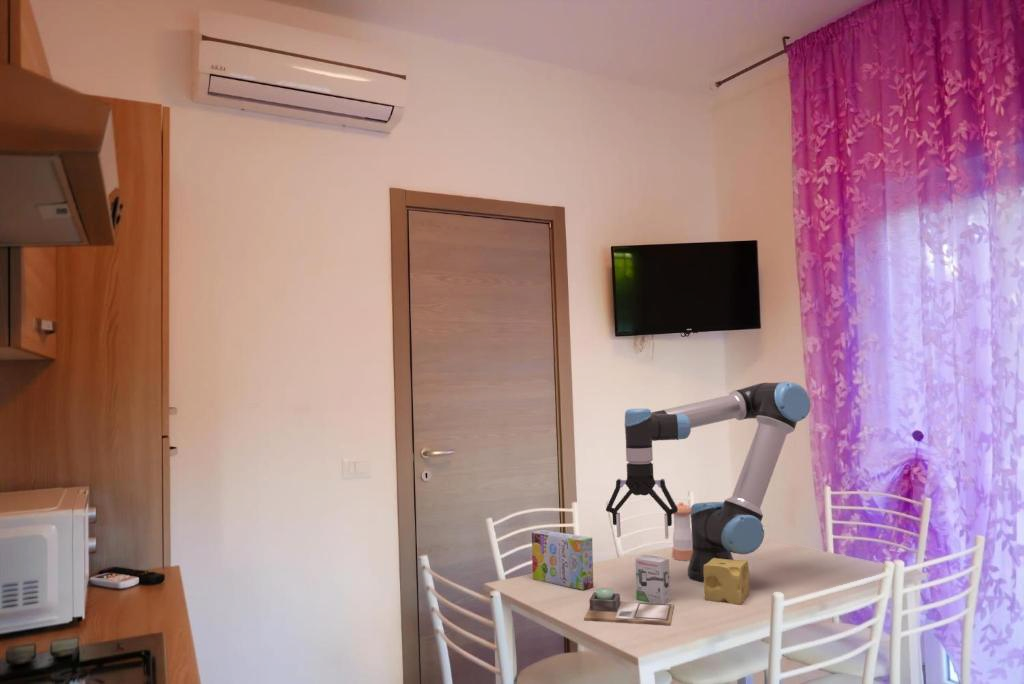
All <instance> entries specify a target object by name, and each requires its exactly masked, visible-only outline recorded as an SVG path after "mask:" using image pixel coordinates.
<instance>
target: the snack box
mask: <svg viewBox="0 0 1024 684" xmlns="http://www.w3.org/2000/svg"><path fill="white" fill-rule="evenodd" d="M531 552H532V553H531V554H532V555H531V556H532V557H531V558H532V559H531V560H532V565H531V566H532V580H535V579H536V581H540V580H541V581H540V582H545V581H546V583H549V582H550V584H553V583H554V584H555V585H559V586H564V587H567V588H572V589H577V590H581V591H584V590H589V589H591V588H594V564H593V563H594V562H593V561H594V559H593V556H594V554H593V537H591V536H587V535H586V536H584V535H580V534H579V535H578V534H571V533H565V532H557V531H552V530H547V529H546V530H545V529H541V530H535V531H532V532H531Z"/></svg>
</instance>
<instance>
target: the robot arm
mask: <svg viewBox="0 0 1024 684" xmlns="http://www.w3.org/2000/svg"><path fill="white" fill-rule="evenodd" d="M651 411H652V410H651V409H650V408H629V409H626V410H625V411H624V432H625V433H624V434H625V454H626V455H625V457H626V458H625V459H626V460H625V461H626V462H627V463H626V480H625V479H621V478H618V479H616V480H615V481H616V482H615V488H614V490H613V493H612V495H611V497H610V500H609V501H608V503H607V506H606V508H605V511H606V512H608V513H611V515H612V524H613V525H614V526H616V537H617V538H620V537H621V535H622V534H621V533H622V531H621V512H618V511H620V508H621V507H623V505H624V504H625V503H626V502H627V500H629V498H630V496H631V495H634V496H648V495H649V496H650V497H651V498H653V500H654V501H655V502H656V503H657V504H658V505H659V507H660V508H662V510H663V511H664V517H663V518H664V519H663V520H664V537H665V538H664V539H666V540H667V539H669V527H671V526H672V524H673V520H672V519H673V518H672V517H673V515H674V514H673V513H676V512H677V511H678V508H677V506H676V505H677V504H676V503H675V501H674V499H673V497H672V495H671V493H670V491H669V489H668V488H667V486H666V481H665V479H664V478H661V479H655V478H654V464H653V462H652V461H653V459H654V457H653V442H657V441H674V440H675V441H679V440H685V439H688V437H690V435H691V432H692V431H691V430H692V429H693V428H697V427H702V426H706V425H711V424H716V423H720V422H725V421H728V420H733V419H736V420H737V421H743V420H747V419H756V421H757V423H758V425H757V428H756V431H755V433H754V436H753V439H752V441H751V443H750V447H749V450H748V452H747V455H746V457H745V460H744V463H743V466H742V468H741V471H740V474H739V476H738V479H737V482H736V484H735V487H734V490H733V492H732V495H731V496H730V497H728V498H726V499H724V501H714V502H713V501H710V502H707V501H706V502H697V503H694V504H692V505H691V507H690V508H691V514H690V528H691V533H692V547H693V551H692V555H691V559H690V560H689V563H688V566H687V577H688V578H689V579H691V580H694V581H698V582H703V583H704V572H703V571H704V565H705V564H706V563H708V562H709V561H710V560H711V559H713V558H718V559H728V560H735V559H734V557H733V555H732V553H733V554H738V555H749V554H752V553H754V552H756V550H758V549H759V548H760V547H761V545H762V543H763V540H764V537H765V529H764V524H763V523H762V519H763V516H764V514H763V512H762V509H761V506H762V504H763V501H764V498H765V495H766V493H767V490H768V487H769V486H770V483H771V479H772V476H773V474H774V472H775V471H774V470H775V468H776V465H777V462H778V461H779V457H780V455H781V451H782V449H783V447H784V443H785V440H786V438H787V435H789V434H791V433H794V431H795V429H796V426H797V424H798V422H800V421H802V420H804V419H806V418H807V417H808V415H809V413H810V411H811V399H810V396H809V395H808V392H807V390H806V389H805V388H804V387H803V386H802V385H800V384H799V383H795V382H789V381H782V382H760V383H757V384H756V383H755V384H753V385H750V386H747V387H742V388H740V389H737V390H732V391H730V392H729V394H728V395H724V396H720V397H714V398H710V399H705V400H702V401H701V400H700V401H696V402H693V403H687V404H683V405H679V406H675V407H669V408H665V409H662V410H657V411H656V410H655V411H652V412H651ZM624 485H625V486H626V487H627V488H628V491H626V493H625V494H624V496H623V497H622V498H621V500H620V501H618V503H617V504H616V506H615V507H613V505H614V503H615V501H616V499H617V497H618V494H619V492H620V490H621V488H623V487H624ZM655 485H657V486H658V487H659V488H660V489H661V492H662V493H663V495H664V497H665V499H666V501H667V503H668V504H669V506H670V507H669V506H668V505H667V504H666V503H665V501H664V500H663V499H662V498H661V497H660V496H659V495H658V494H657V493H656V491H655V490H654V487H655Z"/></svg>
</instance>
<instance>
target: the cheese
mask: <svg viewBox="0 0 1024 684" xmlns="http://www.w3.org/2000/svg"><path fill="white" fill-rule="evenodd" d="M703 572H704V582H703V591H704V598H705V601H711V602H727V603H728V604H734V605H738V606H739V605H742V603H743V601H745V600H746V599H747V598H748V597H749V592H750V569H749V561H748V560H747V559H746V560H744V559H734V560H728V559H718V558H713V559H711V560H710V561H709V562H708V563H706V564H705V565H704V571H703Z"/></svg>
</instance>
